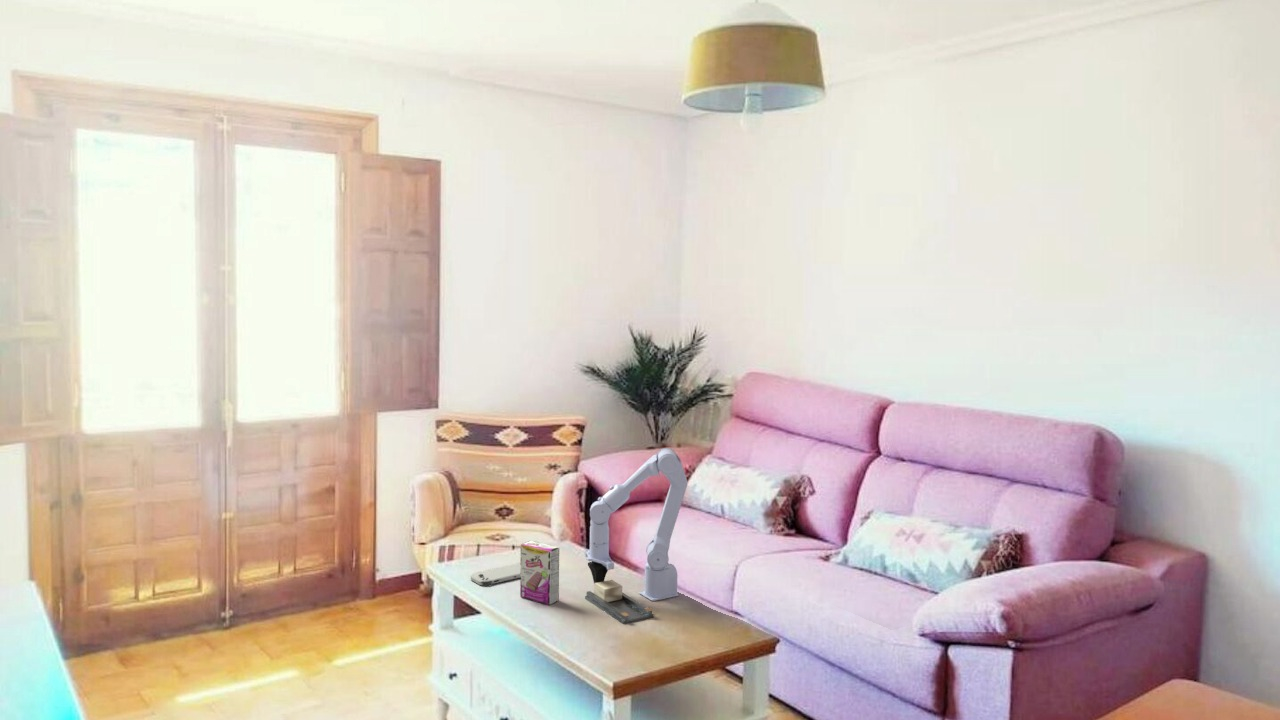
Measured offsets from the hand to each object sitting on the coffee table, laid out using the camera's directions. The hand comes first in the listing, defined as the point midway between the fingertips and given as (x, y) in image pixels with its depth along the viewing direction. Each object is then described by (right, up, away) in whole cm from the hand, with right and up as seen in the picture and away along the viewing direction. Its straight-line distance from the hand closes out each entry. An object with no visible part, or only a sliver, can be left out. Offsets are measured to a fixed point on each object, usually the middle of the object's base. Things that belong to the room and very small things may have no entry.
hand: (598, 586), depth 269 cm
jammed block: (+3, -2, -5) cm, 6 cm away
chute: (+6, -4, -10) cm, 12 cm away
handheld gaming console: (-30, -1, +16) cm, 34 cm away
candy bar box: (-17, -3, -4) cm, 18 cm away
